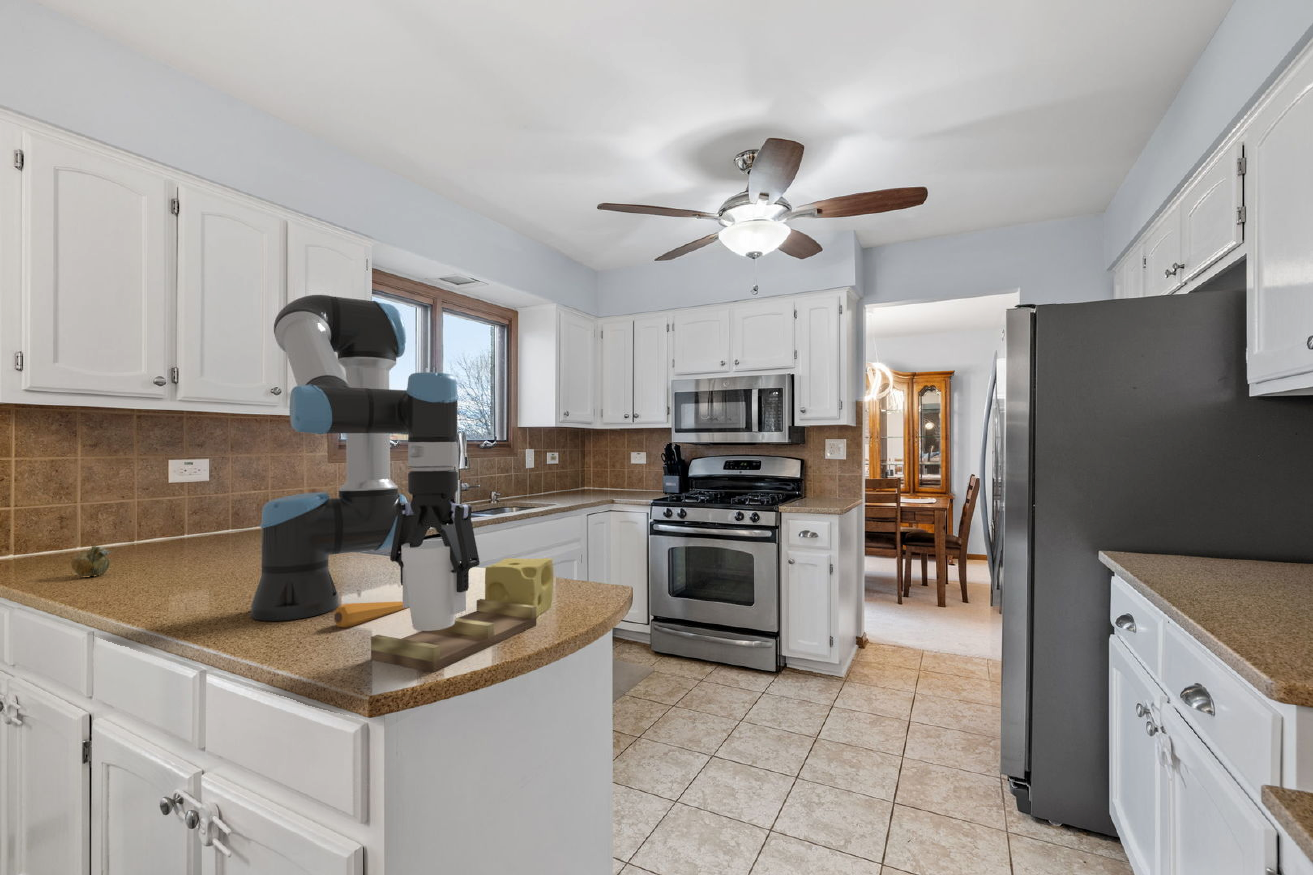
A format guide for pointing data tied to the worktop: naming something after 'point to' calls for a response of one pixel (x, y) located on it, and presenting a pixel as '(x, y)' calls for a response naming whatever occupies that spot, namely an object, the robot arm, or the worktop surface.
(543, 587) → the cheese
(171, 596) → the worktop surface
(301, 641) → the worktop surface
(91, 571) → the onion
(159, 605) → the worktop surface
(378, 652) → the rack
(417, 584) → the foam cup
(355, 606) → the carrot
